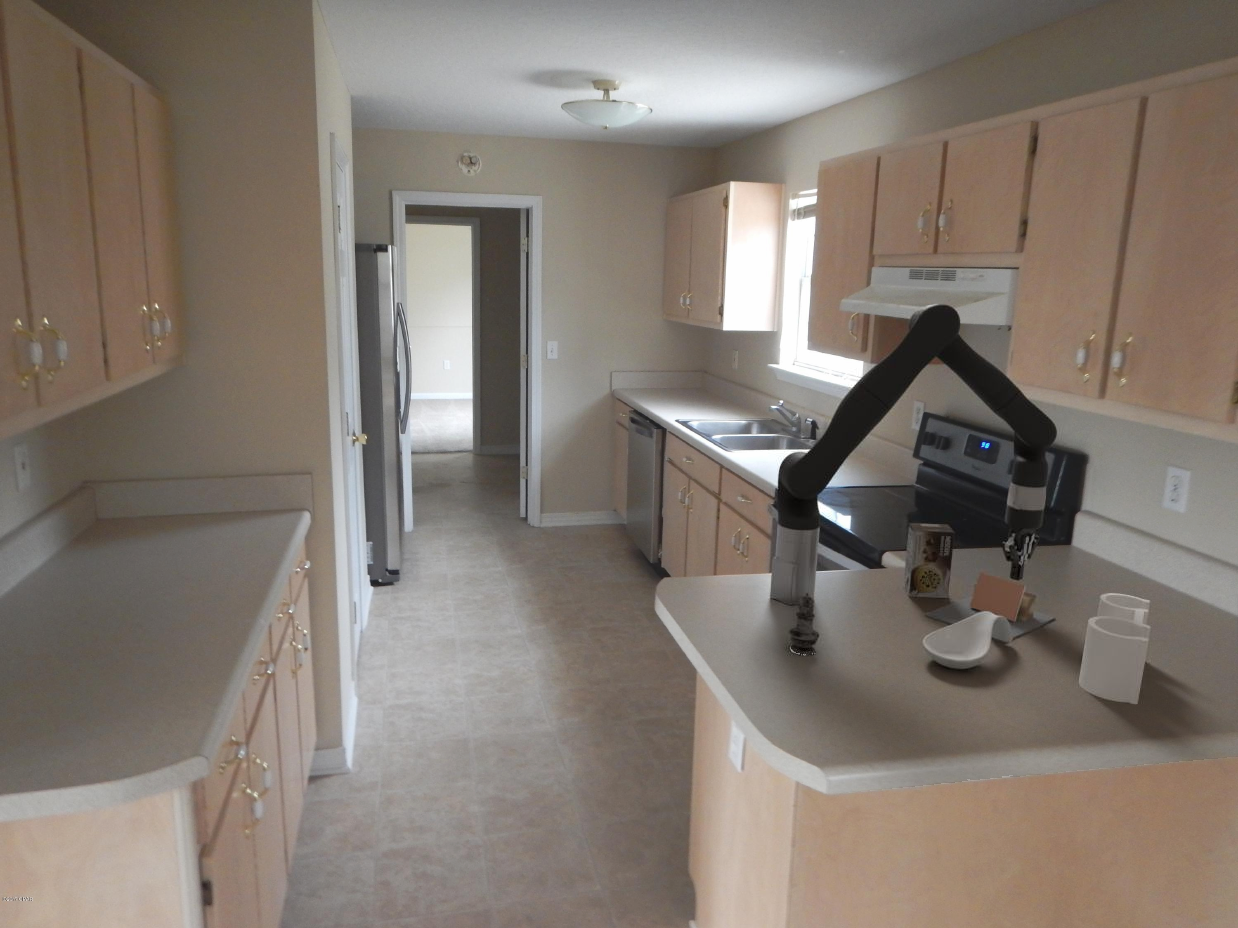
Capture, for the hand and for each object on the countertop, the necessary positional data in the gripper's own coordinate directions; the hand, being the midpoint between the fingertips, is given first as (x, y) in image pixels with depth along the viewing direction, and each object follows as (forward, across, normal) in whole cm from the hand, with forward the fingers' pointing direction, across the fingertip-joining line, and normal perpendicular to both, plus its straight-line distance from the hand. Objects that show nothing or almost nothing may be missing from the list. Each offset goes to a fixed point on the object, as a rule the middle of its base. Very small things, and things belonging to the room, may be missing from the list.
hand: (1015, 578), depth 198 cm
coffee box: (+7, +8, -17) cm, 20 cm away
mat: (+7, +10, 0) cm, 12 cm away
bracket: (+7, +17, +28) cm, 34 cm away
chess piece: (+7, +57, -13) cm, 59 cm away
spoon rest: (+7, +32, +8) cm, 34 cm away
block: (+7, +4, 0) cm, 8 cm away
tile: (+2, +8, 0) cm, 8 cm away
